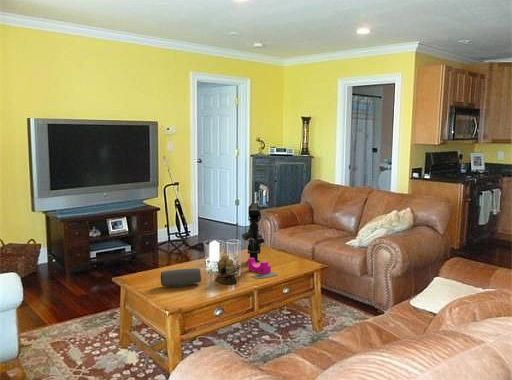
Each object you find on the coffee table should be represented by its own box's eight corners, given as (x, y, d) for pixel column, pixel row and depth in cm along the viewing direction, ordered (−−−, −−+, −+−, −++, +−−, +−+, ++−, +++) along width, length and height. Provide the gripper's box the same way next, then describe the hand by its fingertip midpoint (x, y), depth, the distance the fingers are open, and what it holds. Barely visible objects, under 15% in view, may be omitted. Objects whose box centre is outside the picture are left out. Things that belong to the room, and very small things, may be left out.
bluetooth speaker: (197, 281, 275) (197, 265, 274) (201, 286, 267) (201, 269, 265) (160, 285, 267) (160, 268, 266) (162, 290, 259) (162, 273, 258)
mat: (251, 276, 287) (251, 275, 287) (272, 272, 295) (272, 272, 295) (256, 279, 281) (256, 278, 281) (277, 275, 289) (277, 275, 289)
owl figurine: (242, 283, 273) (242, 256, 271) (226, 287, 266) (226, 259, 264) (227, 275, 287) (227, 249, 285) (211, 278, 281) (211, 252, 278)
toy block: (270, 272, 294) (270, 261, 293) (263, 274, 290) (263, 263, 289) (255, 267, 305) (255, 256, 304) (248, 269, 301) (248, 258, 300)
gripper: (236, 226, 305) (236, 249, 307) (250, 232, 289) (250, 255, 291) (251, 225, 310) (250, 247, 312) (265, 230, 294) (264, 253, 296)
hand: (253, 250), depth 303 cm, fingers closed
